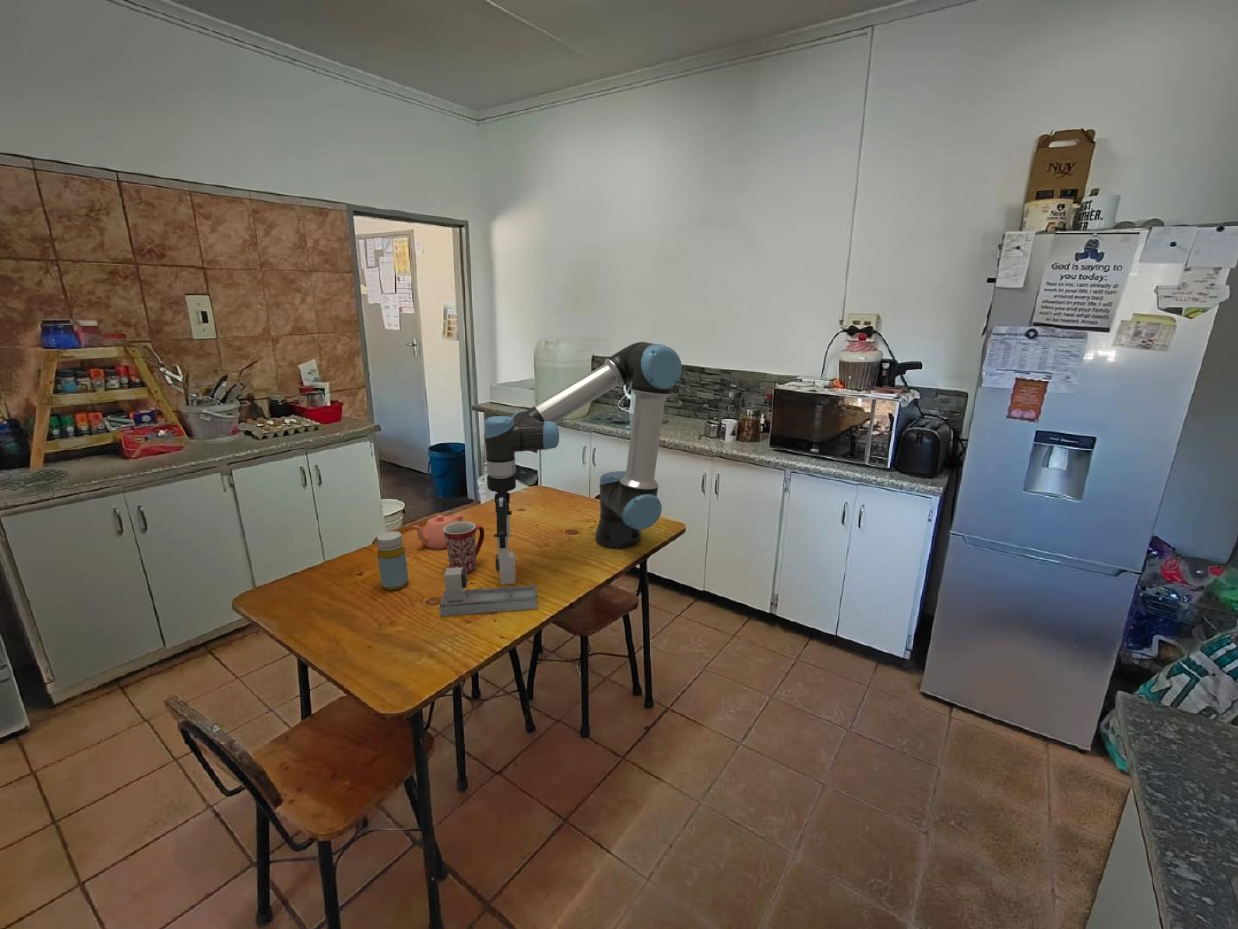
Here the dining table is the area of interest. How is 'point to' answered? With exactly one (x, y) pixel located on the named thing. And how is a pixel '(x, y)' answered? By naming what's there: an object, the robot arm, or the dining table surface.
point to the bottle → (392, 561)
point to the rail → (482, 596)
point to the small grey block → (506, 568)
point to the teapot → (436, 531)
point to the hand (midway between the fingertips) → (504, 547)
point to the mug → (463, 544)
